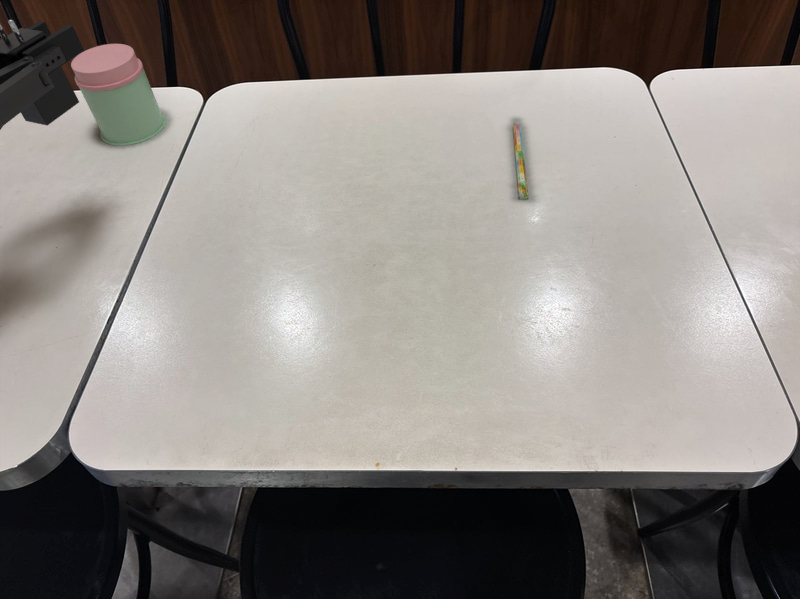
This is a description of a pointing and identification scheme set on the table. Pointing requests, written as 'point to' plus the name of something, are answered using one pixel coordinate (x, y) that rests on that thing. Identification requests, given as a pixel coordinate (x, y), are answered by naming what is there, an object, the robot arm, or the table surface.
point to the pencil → (520, 162)
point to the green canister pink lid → (118, 94)
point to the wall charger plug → (62, 92)
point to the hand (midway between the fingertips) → (61, 36)
